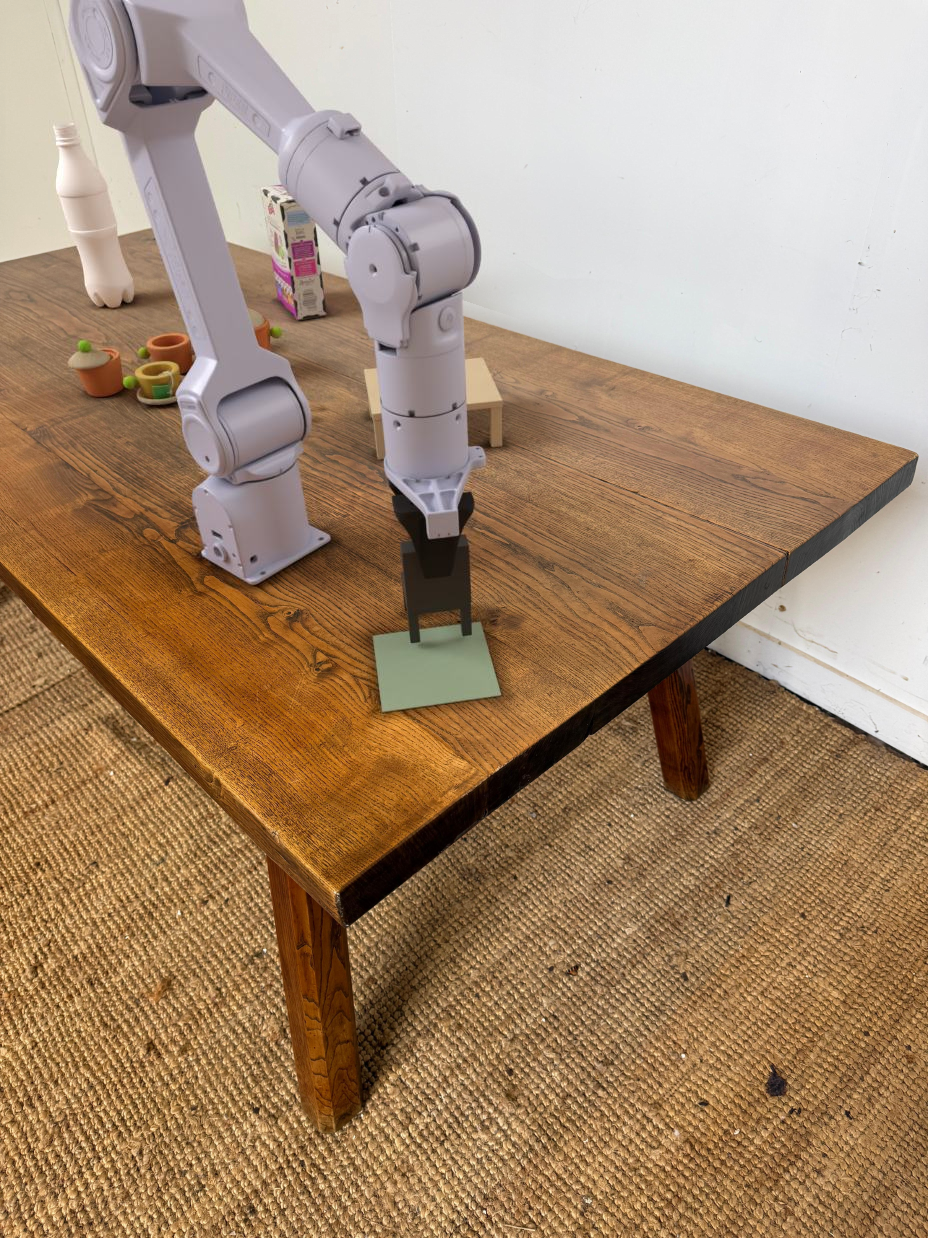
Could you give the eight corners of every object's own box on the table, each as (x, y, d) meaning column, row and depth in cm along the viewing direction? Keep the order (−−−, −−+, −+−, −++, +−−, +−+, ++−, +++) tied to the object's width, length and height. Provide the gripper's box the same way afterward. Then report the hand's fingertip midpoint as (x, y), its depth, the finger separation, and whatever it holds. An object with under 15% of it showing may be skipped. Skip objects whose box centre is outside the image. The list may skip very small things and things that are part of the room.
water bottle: (81, 308, 138) (26, 129, 122) (108, 293, 143) (58, 119, 128) (121, 311, 136) (69, 129, 121) (146, 296, 142) (100, 119, 126)
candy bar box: (329, 315, 131) (314, 197, 121) (297, 321, 130) (278, 202, 120) (307, 294, 139) (291, 181, 129) (277, 299, 138) (257, 185, 128)
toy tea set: (250, 337, 126) (237, 267, 120) (302, 370, 116) (290, 296, 110) (67, 388, 114) (42, 313, 108) (106, 429, 104) (81, 350, 98)
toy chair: (473, 638, 71) (469, 545, 65) (411, 646, 70) (401, 553, 64) (462, 598, 75) (457, 507, 69) (404, 606, 74) (394, 515, 69)
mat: (501, 696, 66) (501, 695, 66) (382, 712, 65) (382, 711, 65) (480, 622, 73) (480, 621, 73) (372, 636, 72) (372, 635, 72)
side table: (503, 446, 97) (502, 399, 94) (377, 460, 96) (371, 413, 92) (484, 400, 106) (483, 356, 103) (368, 413, 105) (363, 368, 102)
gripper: (504, 441, 53) (506, 618, 61) (465, 351, 64) (471, 510, 73) (387, 454, 52) (405, 631, 61) (368, 361, 63) (386, 521, 72)
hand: (435, 566), depth 67 cm, fingers closed on toy chair
